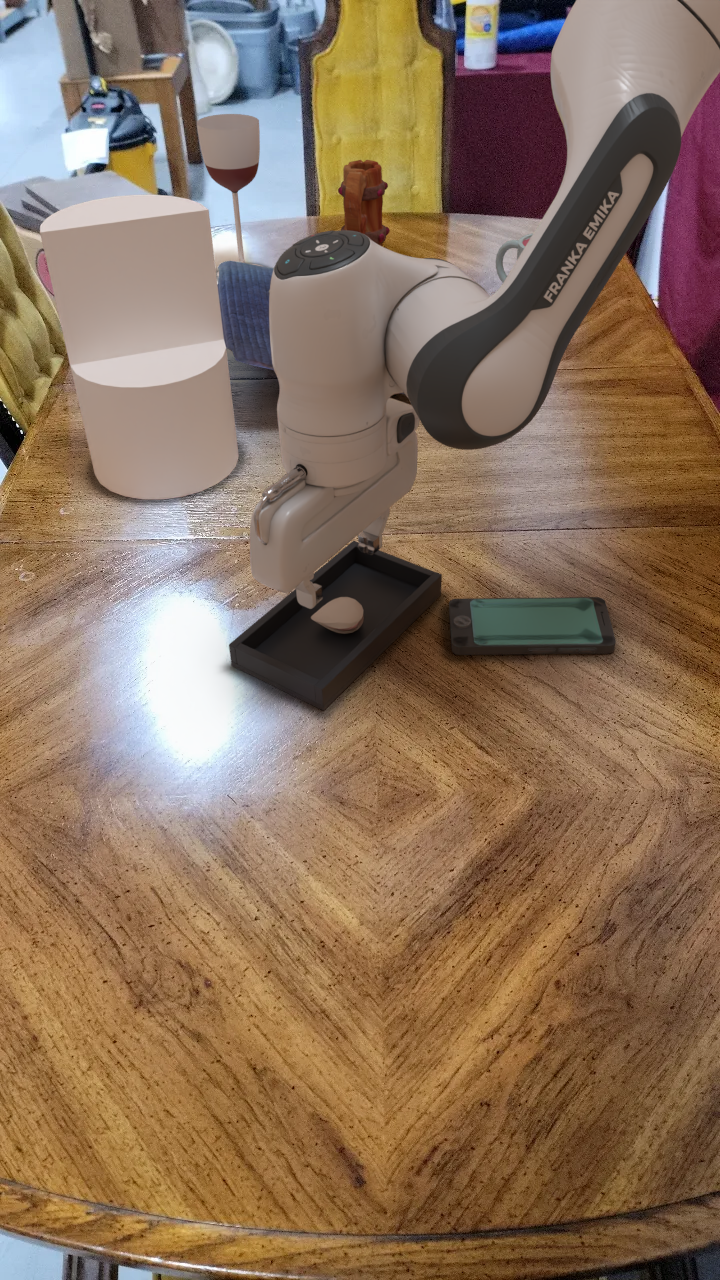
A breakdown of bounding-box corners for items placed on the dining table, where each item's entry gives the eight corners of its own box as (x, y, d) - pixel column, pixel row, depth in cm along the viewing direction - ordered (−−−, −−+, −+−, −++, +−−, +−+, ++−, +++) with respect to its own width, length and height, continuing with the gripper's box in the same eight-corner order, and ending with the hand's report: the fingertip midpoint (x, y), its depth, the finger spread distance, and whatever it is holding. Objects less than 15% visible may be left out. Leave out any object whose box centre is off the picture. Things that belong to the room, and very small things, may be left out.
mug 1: (347, 242, 176) (344, 150, 166) (392, 244, 174) (392, 152, 165) (328, 272, 165) (324, 176, 155) (376, 275, 164) (375, 178, 154)
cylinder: (84, 441, 124) (31, 207, 105) (219, 415, 128) (190, 186, 110) (106, 512, 111) (49, 261, 93) (255, 481, 115) (229, 235, 97)
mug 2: (585, 307, 152) (593, 240, 145) (551, 326, 146) (559, 258, 140) (511, 286, 159) (516, 221, 152) (476, 304, 153) (480, 238, 147)
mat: (194, 317, 158) (205, 243, 151) (359, 347, 165) (376, 278, 159) (210, 437, 122) (225, 348, 116) (419, 469, 130) (444, 386, 124)
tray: (441, 595, 98) (442, 574, 97) (323, 711, 86) (322, 689, 85) (354, 560, 103) (353, 540, 101) (231, 665, 91) (228, 644, 89)
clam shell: (366, 638, 93) (365, 617, 91) (312, 642, 92) (311, 622, 91) (361, 609, 96) (360, 589, 94) (310, 613, 96) (308, 593, 94)
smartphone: (448, 596, 96) (604, 595, 96) (448, 606, 97) (602, 605, 97) (452, 646, 91) (617, 645, 90) (452, 657, 91) (615, 655, 91)
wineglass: (246, 258, 171) (232, 110, 156) (282, 273, 165) (271, 121, 150) (202, 272, 166) (184, 121, 151) (239, 288, 160) (223, 133, 146)
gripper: (285, 512, 74) (299, 651, 83) (430, 401, 86) (428, 532, 95) (221, 488, 77) (241, 625, 86) (371, 384, 89) (374, 513, 98)
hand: (341, 575), depth 91 cm, fingers open, 8 cm apart
